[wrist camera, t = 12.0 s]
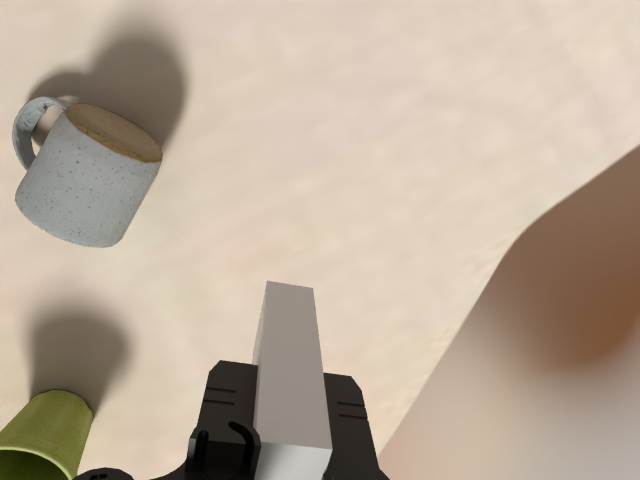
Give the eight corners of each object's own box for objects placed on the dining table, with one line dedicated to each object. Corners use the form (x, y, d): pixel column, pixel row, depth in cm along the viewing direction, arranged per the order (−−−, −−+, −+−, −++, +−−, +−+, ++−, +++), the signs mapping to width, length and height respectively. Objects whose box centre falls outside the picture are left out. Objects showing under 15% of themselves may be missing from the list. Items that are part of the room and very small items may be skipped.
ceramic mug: (179, 144, 37) (152, 166, 30) (134, 227, 39) (98, 265, 32) (48, 66, 34) (-16, 69, 27) (7, 159, 36) (-62, 184, 29)
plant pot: (123, 391, 45) (88, 465, 37) (97, 459, 48) (60, 540, 40) (22, 362, 43) (-37, 433, 35) (2, 434, 46) (-57, 515, 38)
